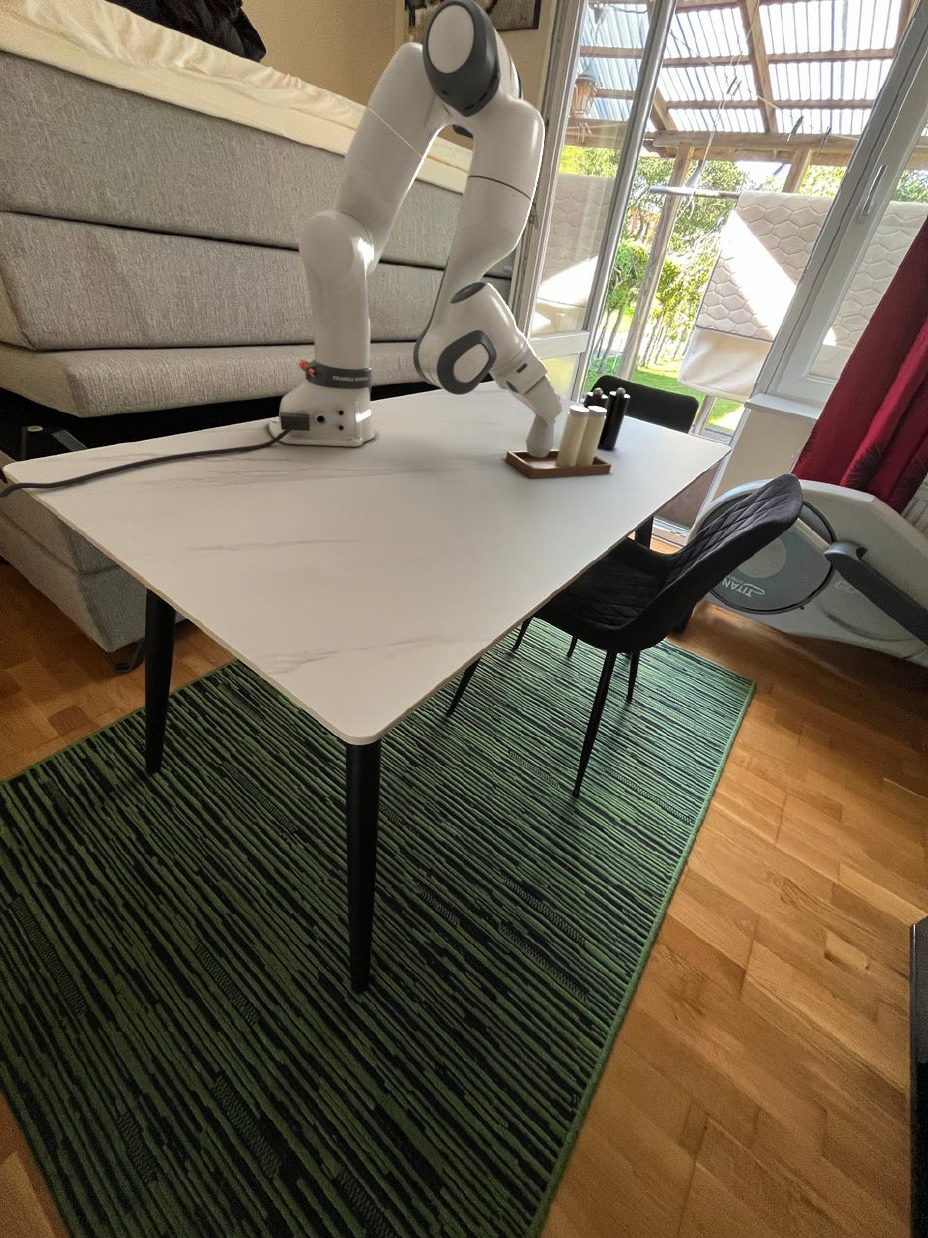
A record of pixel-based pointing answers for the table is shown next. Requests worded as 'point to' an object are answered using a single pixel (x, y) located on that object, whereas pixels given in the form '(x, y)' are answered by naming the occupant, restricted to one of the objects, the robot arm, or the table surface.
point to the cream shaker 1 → (572, 436)
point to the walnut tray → (553, 465)
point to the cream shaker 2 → (591, 435)
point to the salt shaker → (540, 437)
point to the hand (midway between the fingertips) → (547, 420)
